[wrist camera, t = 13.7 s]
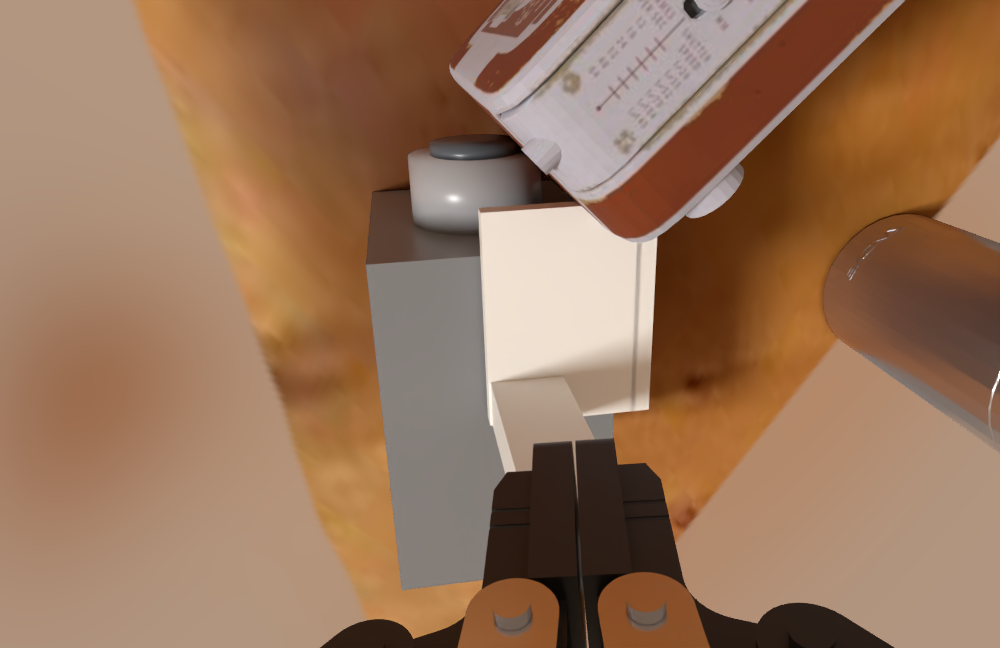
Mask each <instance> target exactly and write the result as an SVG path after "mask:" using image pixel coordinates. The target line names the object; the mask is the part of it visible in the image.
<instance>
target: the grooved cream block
mask: <svg viewBox="0 0 1000 648" xmlns="http://www.w3.org/2000/svg"><path fill="white" fill-rule="evenodd" d="M563 192H564V193H565V194H566V195H567V196H568V197H569V198H570V199H571V200H572V201H573V202H558V203H543V204H528V205H514V206H499V207H484V208H478V217H479V239H480V260H481V281H482V303H483V324H484V345H485V366H486V388H487V409H488V419H489V423H490V426H493V429H494V433H495V437H496V440H497V444H498V448H499V452H500V456H501V460H502V464H503V467H504V471H505V474H506V473H507V472H516V471H532V458H533V444H534V443H547V442H562V441H572V446H573V456H574V466H575V476H576V487H577V469H576V450H575V440H589V439H595V438H594V436H593V434H592V432H591V430H590V428H589V426H588V424H587V422H586V420H585V418H584V416H590V415H600V414H610V413H619V412H629V411H639V410H649V394H650V374H651V354H652V333H653V313H654V293H655V272H656V252H657V237H656V238H654V239H653V240H650V241H647V242H630V241H628V240H625V239H622V238H620V237H619V236H617V235H615V234H613V233H612V232H610V231H609V230H607V229H606V228H605V227H604V226H602V225H601V224H600V223H599V222H598V221H597V220H596V219H595V218H594V217H593V216H592V215H591V214H590V213H588V212H587V211H586V210H585V209H584V208H583V207H582V206H581V205H580V204H579V203H578V202H577V201H576V200H575V199H574V198H573V197H571V196H570V195H569V194H568V193H567V192H566V191H565V190H564V189H563ZM577 497H578V489H577Z"/></svg>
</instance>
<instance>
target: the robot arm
mask: <svg viewBox="0 0 1000 648" xmlns="http://www.w3.org/2000/svg"><path fill="white" fill-rule="evenodd" d="M823 309H824V313H825V317H826V321H827V323H828V325H829V326H830V328H831V330H832V332H833V333H834V334H835V335H836V336H837V337H838V338H839V339H840V340H841V341H842V342H844V343H845V344H847V345H848V346H849V347H851V348H853V349H854V350H855V351H856V352H858V353H859V354H861V355H862V356H863V357H865V358H866V359H868V360H869V361H871V362H872V363H873V364H875V365H876V366H877V367H879V368H880V369H882V370H883V371H884V372H886V373H887V374H889V375H890V376H891V377H893V378H894V379H896V380H897V381H898V382H900V383H901V384H903V385H904V386H905V387H907V388H908V389H910V390H911V391H912V392H914V393H915V394H917V395H918V396H920V397H921V398H922V399H924V400H925V401H927V402H928V403H930V404H931V405H932V406H934V407H935V408H936V409H938V410H939V411H941V412H942V413H944V414H945V415H946V416H948V417H949V418H951V419H952V420H953V421H955V422H956V423H958V424H959V425H960V426H962V427H963V428H965V429H966V430H968V431H969V432H971V433H972V434H973V435H975V436H976V437H978V438H979V439H981V440H982V441H983V442H985V443H986V444H988V445H989V446H990V447H992V448H993V449H994V450H996V451H997V452H999V453H1000V243H997V242H994V241H991V240H989V239H986V238H983V237H981V236H978V235H976V234H973V233H970V232H967V231H965V230H962V229H959V228H956V227H954V226H951V225H948V224H945V223H942V222H940V221H937V220H934V219H931V218H928V217H926V216H923V215H914V214H903V215H895V216H891V217H888V218H885V219H882V220H879V221H877V222H875V223H874V224H872V225H870V226H868V227H866V228H865V229H863V230H862V231H861V232H860V233H858V234H857V235H856V236H855V237H853V238H852V239H851V240H850V241H849V242H848V244H847V245H846V246H845V247H844V248H843V249H842V250H841V251H840V253H839V255H838V256H837V258H836V259H835V261H834V263H833V264H832V266H831V268H830V271H829V274H828V276H827V279H826V282H825V287H824V292H823ZM575 450H576V469H577V487H576V476H575V466H574V456H573V446H572V441H562V442H547V443H534V444H533V458H532V471H516V472H507V473H506V474H505V476H504V477H503V478H502V480H501V481H500V482H499V484H498V485H497V486H496V488H495V489H494V493H493V501H492V513H491V518H490V530H489V535H488V543H487V551H486V560H485V568H484V577H483V585H482V590H481V591H479V592H478V593H477V594H476V595H475V596H474V597H473V599H472V600H471V602H470V603H469V605H468V608H467V611H466V614H465V617H464V618H463V619H461V620H460V621H458V622H457V623H455V624H453V625H451V626H450V627H448V628H445V629H442V630H440V631H437V632H434V633H431V634H427V635H424V636H421V637H418V638H415V639H413V638H412V636H411V634H410V633H409V631H408V630H407V629H406V628H405V627H403V626H402V625H400V624H398V623H396V622H393V621H390V620H384V619H374V620H367V621H363V622H359V623H357V624H354V625H352V626H350V627H348V628H346V629H344V630H343V631H341V632H340V633H338V634H337V635H336V636H334V637H333V638H332V639H331V640H329V641H328V642H327V643H326V644H324V645H323V646H322V647H321V648H587V642H586V622H585V611H586V621H587V631H588V641H589V648H894V647H892V646H891V645H889V644H888V643H886V642H884V641H883V640H881V639H880V638H878V637H876V636H875V635H873V634H871V633H870V632H868V631H867V630H865V629H863V628H862V627H860V626H859V625H857V624H855V623H854V622H852V621H851V620H849V619H847V618H846V617H844V616H842V615H841V614H839V613H837V612H835V611H833V610H830V609H828V608H825V607H821V606H818V605H814V604H808V603H789V604H784V605H780V606H778V607H775V608H773V609H771V610H770V611H768V612H767V613H766V614H765V615H763V616H762V618H761V619H760V621H759V622H758V624H757V623H752V622H748V621H743V620H738V619H734V618H730V617H726V616H723V615H720V614H718V613H715V612H714V611H712V610H710V609H708V608H706V607H705V606H704V605H702V604H701V603H699V602H698V601H697V600H696V599H695V598H694V597H693V596H692V595H691V593H690V592H689V591H688V589H687V587H686V585H685V583H684V580H683V576H682V571H681V567H680V563H679V558H678V554H677V549H676V545H675V540H674V536H673V532H672V527H671V523H670V519H669V514H668V509H667V505H666V502H665V496H664V492H663V487H662V483H661V479H660V478H659V477H658V476H657V475H656V474H655V473H654V472H653V471H652V470H651V469H650V468H649V467H648V466H647V464H646V463H639V464H623V465H618V464H617V457H616V450H615V443H614V438H604V439H589V440H575ZM577 489H578V497H577ZM584 601H585V603H584Z"/></svg>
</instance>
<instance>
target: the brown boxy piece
mask: <svg viewBox="0 0 1000 648" xmlns="http://www.w3.org/2000/svg"><path fill="white" fill-rule="evenodd" d="M904 1H905V0H502V1H501V2H500V3H499V4H498V5H497V6H496V8H495V9H494V10H493V11H492V12H491V13H490V14H489V15H488V17H487V18H486V19H485V20H484V21H483V22H482V23H481V24H480V26H479V27H478V28H477V29H476V30H475V31H474V32H473V33H472V34H471V36H470V37H469V38H468V39H467V40H466V41H465V43H464V44H463V45H462V46H461V48H460V49H459V50H458V51H457V53H456V54H455V55H454V57H453V58H452V59H451V62H450V73H451V75H452V76H453V78H454V80H455V81H456V82H457V83H458V85H459V86H460V87H461V88H462V89H463V90H464V91H465V92H466V93H467V94H468V95H469V96H470V97H471V98H472V99H473V100H474V101H475V102H476V103H477V104H478V105H479V106H480V107H481V108H482V109H483V110H484V111H485V112H486V113H487V114H488V115H489V116H490V117H491V118H492V119H493V120H494V121H495V122H496V123H497V124H498V125H499V126H500V127H501V128H502V129H503V130H504V131H505V132H506V133H507V134H508V135H509V136H510V137H511V138H512V139H513V140H514V141H515V142H516V143H517V144H518V145H519V146H520V147H521V148H522V149H521V150H522V151H523V152H524V153H525V154H526V155H527V156H528V157H529V158H530V159H531V160H532V161H533V162H534V163H535V164H536V165H537V166H538V167H539V168H540V169H541V170H542V171H543V172H544V173H545V174H546V175H548V174H549V175H550V176H551V177H552V178H553V179H554V180H555V181H556V182H557V183H558V184H559V185H560V186H561V187H562V188H563V189H564V190H565V191H566V192H567V193H568V194H569V195H570V196H571V197H573V198H574V199H575V200H576V201H577V202H578V203H579V204H580V205H581V206H582V207H583V208H584V209H585V210H586V211H587V212H588V213H590V214H591V215H592V216H593V217H594V218H595V219H596V220H597V221H598V222H599V223H600V224H601V225H602V226H604V227H605V228H606V229H607V230H609V231H610V232H612V233H613V234H615V235H617V236H619V237H620V238H622V239H625V240H628V241H630V242H647V241H650V240H653V239H654V238H656V237H658V236H659V235H661V234H662V233H664V232H665V231H667V230H668V229H669V228H670V227H671V226H673V225H674V224H675V223H676V222H678V221H679V220H680V219H681V218H682V217H684V216H685V215H686V216H687V217H689V218H698V217H701V216H705V215H707V214H709V213H710V212H712V211H714V210H715V209H717V208H718V207H720V206H721V205H722V204H723V203H725V202H726V201H727V200H728V199H729V198H730V197H731V196H732V195H733V194H734V193H735V191H736V190H737V188H738V187H739V186H740V184H741V182H742V180H743V177H744V169H743V167H742V166H741V165H740V164H739V163H740V162H741V161H742V160H743V159H744V158H745V157H746V156H747V155H748V154H749V153H750V152H751V151H752V150H753V149H754V148H755V147H756V146H757V145H758V144H759V143H760V142H761V141H762V140H763V139H764V138H765V137H766V136H767V135H768V134H769V133H770V132H771V131H772V130H773V129H774V128H775V127H776V126H777V125H778V124H779V123H780V122H781V121H782V120H783V119H784V118H786V117H787V116H788V115H789V114H790V113H791V112H792V111H793V110H794V109H795V108H796V107H797V106H798V105H799V104H800V103H801V102H802V101H803V100H804V99H805V98H806V97H807V96H808V95H809V94H810V93H811V92H812V91H813V90H814V89H815V88H816V87H817V86H818V85H819V84H820V83H821V82H822V81H823V80H824V79H825V78H826V77H827V76H828V75H829V74H830V73H832V72H833V71H834V70H835V69H836V68H837V67H838V66H839V65H840V64H841V63H842V62H843V61H844V60H845V59H846V58H847V57H848V56H849V55H850V54H851V53H852V52H853V51H854V50H855V49H856V48H857V47H858V46H859V45H860V44H861V43H862V42H863V41H864V40H865V39H866V38H867V37H868V36H869V35H870V34H871V33H872V32H873V31H874V30H875V29H876V28H877V27H879V26H880V25H881V24H882V23H883V22H884V21H885V20H886V19H887V18H888V17H889V16H890V15H891V14H892V13H893V12H894V11H895V10H896V9H897V8H898V7H899V6H900V5H901V4H902V3H903V2H904Z"/></svg>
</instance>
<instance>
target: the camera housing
mask: <svg viewBox="0 0 1000 648" xmlns="http://www.w3.org/2000/svg"><path fill="white" fill-rule="evenodd" d="M429 146H430V147H426V148H422V149H418V150H415V151H413V152H411V153H409V154H408V166H409V178H410V190H398V191H383V192H372V201H371V213H370V224H369V236H368V247H367V259H366V270H367V279H368V288H369V297H370V306H371V315H372V324H373V333H374V342H375V351H376V360H377V370H378V379H379V388H380V397H381V406H382V415H383V424H384V433H385V442H386V451H387V460H388V469H389V479H390V488H391V497H392V506H393V515H394V524H395V533H396V542H397V551H398V560H399V569H400V578H401V588H402V590H407V589H415V588H423V587H431V586H439V585H447V584H455V583H463V582H470V581H478V580H483V577H484V568H485V560H486V551H487V543H488V535H489V530H490V518H491V513H492V501H493V493H494V489H495V488H496V486H497V485H498V484H499V482H500V481H501V480H502V478H503V477H504V476H505V471H504V467H503V464H502V460H501V456H500V452H499V448H498V444H497V440H496V437H495V433H494V429H493V426H490V423H489V419H488V409H487V388H486V366H485V345H484V324H483V303H482V281H481V260H480V239H479V217H478V208H484V207H499V206H514V205H528V204H543V203H558V202H573V201H572V200H571V199H570V198H569V197H568V196H567V195H566V194H565V193H564V192H563V191H562V190H561V189H560V188H559V187H558V186H557V185H556V184H555V183H554V182H553V181H541V169H540V168H539V167H538V166H537V165H536V164H535V163H534V162H533V161H532V160H531V159H530V158H529V157H528V156H527V155H526V154H525V153H524V152H523V151H522V150H521V149H522V148H521V147H520V146H519V145H518V144H517V143H516V142H515V141H514V140H513V139H512V138H511V137H510V136H507V135H495V134H474V135H459V136H451V137H444V138H439V139H436V140H433V141H431V142H430V143H429ZM584 418H585V420H586V422H587V424H588V426H589V428H590V430H591V432H592V434H593V436H594V438H595V439H604V438H613V419H614V413H610V414H600V415H590V416H584Z"/></svg>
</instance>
